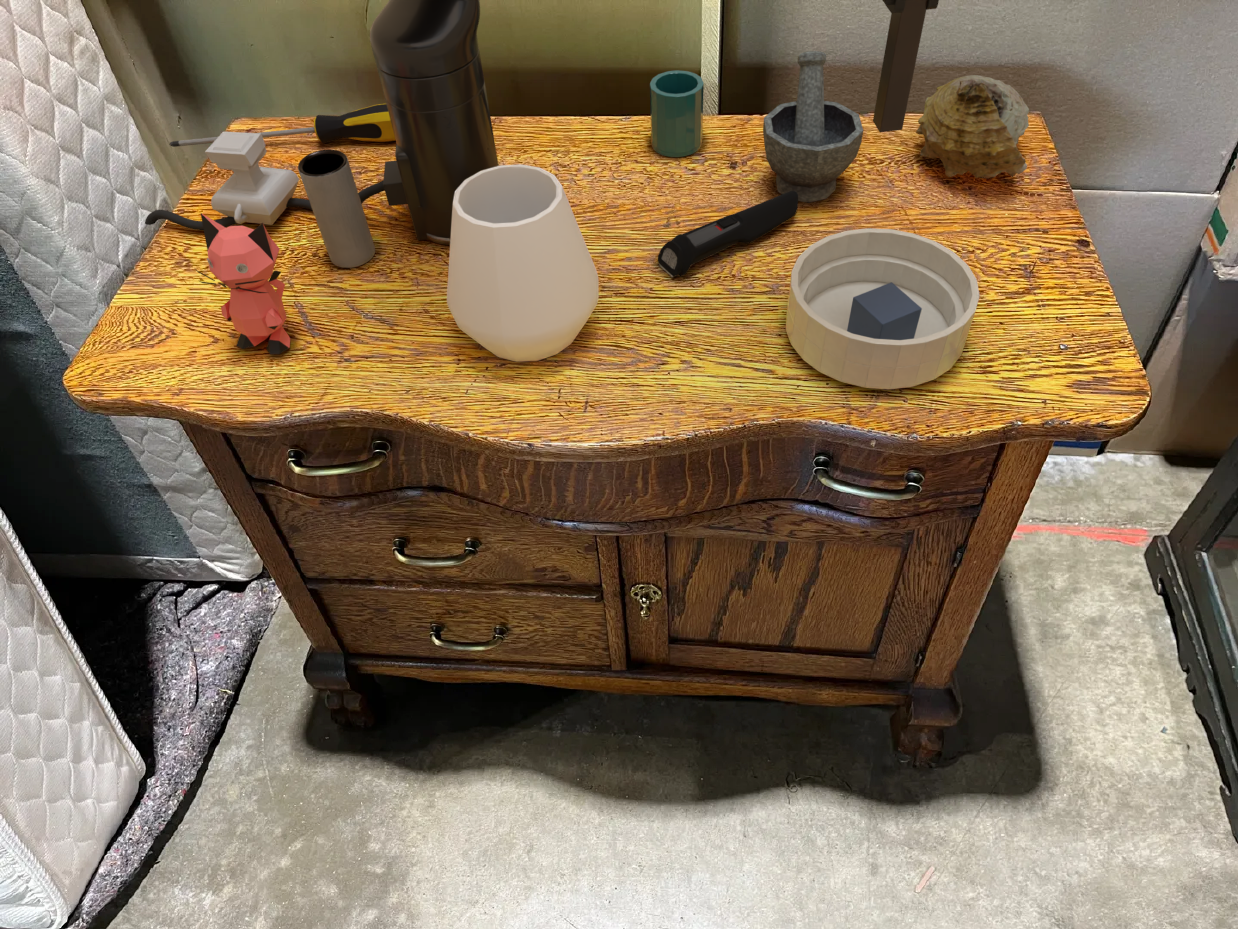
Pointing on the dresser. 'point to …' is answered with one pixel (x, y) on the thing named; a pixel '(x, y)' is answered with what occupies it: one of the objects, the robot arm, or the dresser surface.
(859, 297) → the block
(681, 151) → the cup
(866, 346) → the bowl
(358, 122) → the screwdriver
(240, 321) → the cat figurine
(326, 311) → the dresser surface
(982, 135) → the seashell
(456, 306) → the cup
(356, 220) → the grey hollow cylinder
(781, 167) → the mortar and pestle
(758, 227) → the electric trimmer
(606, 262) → the dresser surface
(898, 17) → the stick
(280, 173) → the stamp
